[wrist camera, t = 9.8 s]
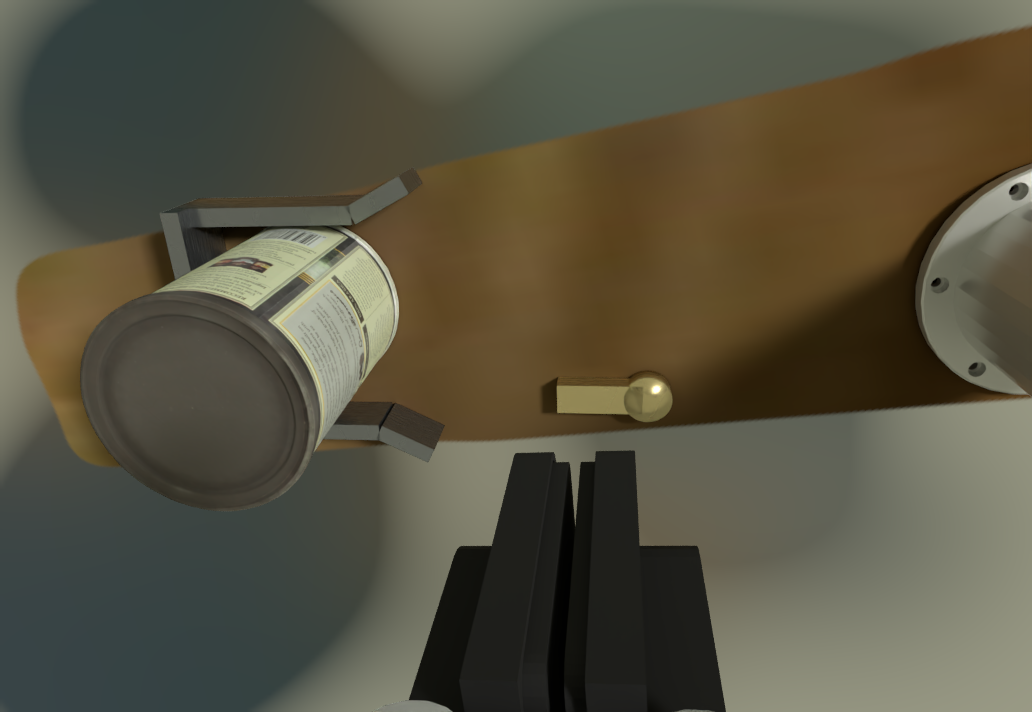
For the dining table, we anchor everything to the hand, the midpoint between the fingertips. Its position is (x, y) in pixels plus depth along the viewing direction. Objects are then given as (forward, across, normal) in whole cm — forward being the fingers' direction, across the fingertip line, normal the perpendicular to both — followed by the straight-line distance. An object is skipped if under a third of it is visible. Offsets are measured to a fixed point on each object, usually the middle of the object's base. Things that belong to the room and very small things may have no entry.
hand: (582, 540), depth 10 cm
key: (+31, +1, +13) cm, 33 cm away
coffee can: (+31, +18, +6) cm, 36 cm away
